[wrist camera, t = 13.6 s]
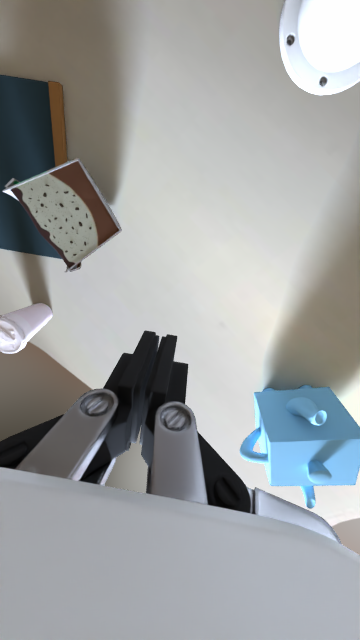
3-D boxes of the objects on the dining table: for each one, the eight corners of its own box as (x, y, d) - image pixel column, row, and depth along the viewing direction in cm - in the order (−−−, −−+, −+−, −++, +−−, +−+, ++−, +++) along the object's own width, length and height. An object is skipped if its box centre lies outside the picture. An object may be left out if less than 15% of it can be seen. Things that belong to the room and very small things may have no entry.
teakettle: (226, 408, 49) (235, 480, 35) (289, 353, 41) (331, 417, 28) (288, 445, 52) (318, 522, 39) (357, 399, 45) (423, 477, 31)
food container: (81, 159, 31) (23, 194, 32) (69, 143, 26) (-2, 186, 26) (129, 239, 36) (78, 269, 37) (127, 240, 31) (67, 276, 31)
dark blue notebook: (-48, 68, 28) (-55, 64, 27) (62, 85, 28) (59, 82, 27) (-9, 246, 37) (-13, 247, 37) (73, 260, 37) (71, 261, 36)
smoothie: (27, 291, 40) (-52, 324, 28) (61, 303, 41) (-2, 341, 28) (26, 320, 43) (-46, 362, 30) (57, 330, 44) (-1, 377, 31)
